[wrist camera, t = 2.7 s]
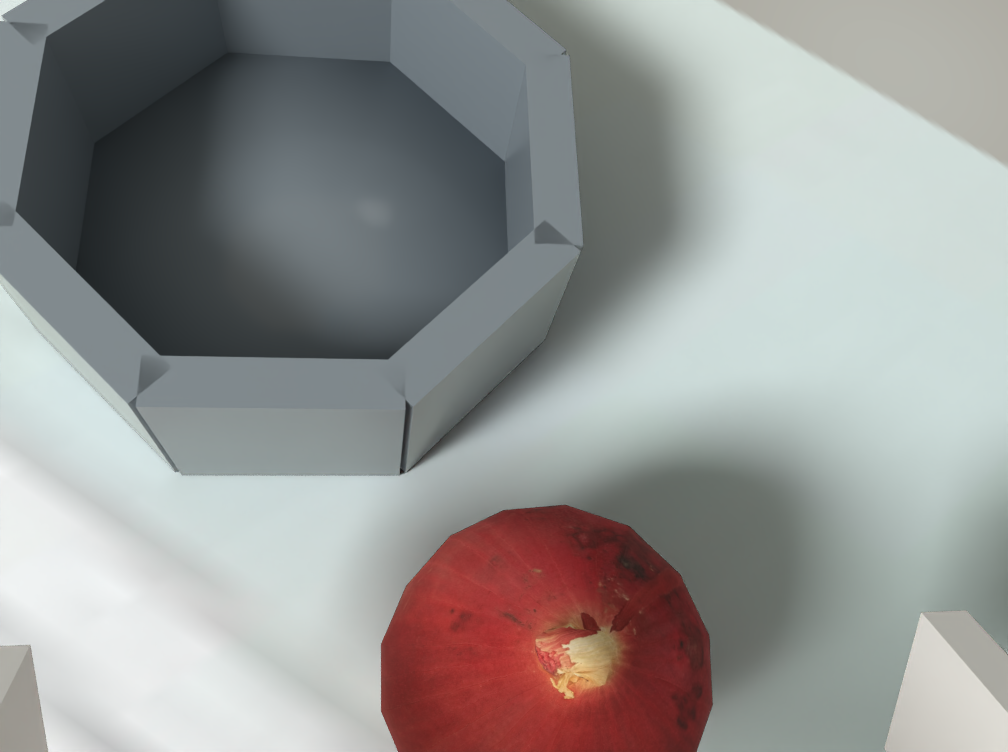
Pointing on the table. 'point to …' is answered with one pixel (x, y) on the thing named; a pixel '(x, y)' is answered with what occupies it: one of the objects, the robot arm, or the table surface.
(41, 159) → the grey octagonal bowl
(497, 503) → the table surface
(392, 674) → the onion
